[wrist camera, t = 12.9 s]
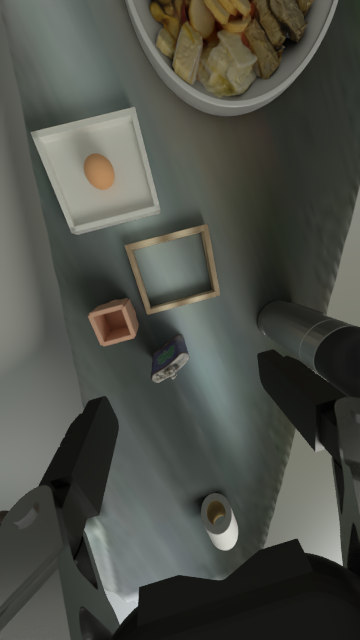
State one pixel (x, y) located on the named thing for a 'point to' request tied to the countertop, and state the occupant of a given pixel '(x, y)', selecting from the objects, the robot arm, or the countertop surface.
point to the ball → (99, 171)
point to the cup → (114, 321)
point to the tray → (123, 153)
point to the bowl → (229, 47)
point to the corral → (168, 237)
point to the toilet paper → (225, 532)
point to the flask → (169, 359)
